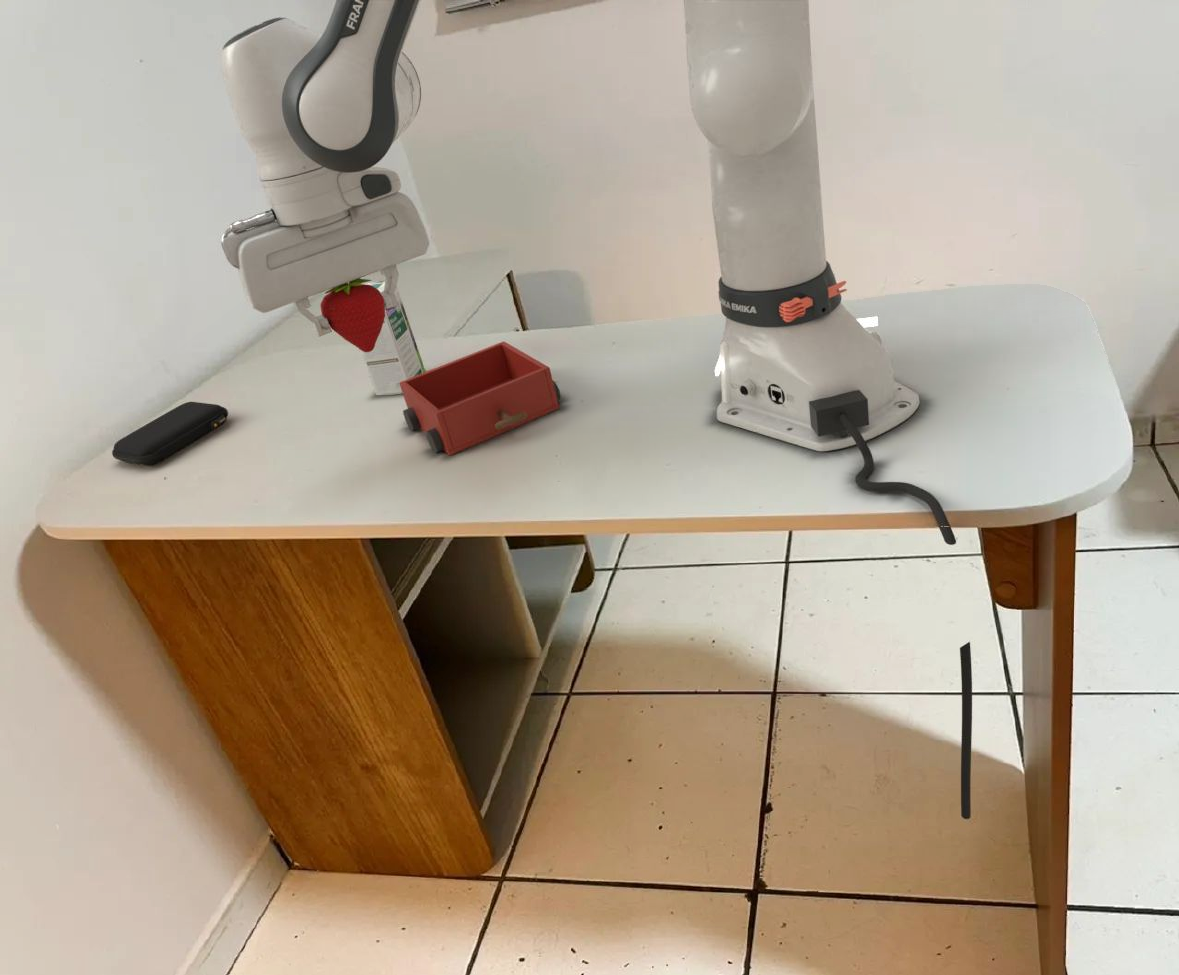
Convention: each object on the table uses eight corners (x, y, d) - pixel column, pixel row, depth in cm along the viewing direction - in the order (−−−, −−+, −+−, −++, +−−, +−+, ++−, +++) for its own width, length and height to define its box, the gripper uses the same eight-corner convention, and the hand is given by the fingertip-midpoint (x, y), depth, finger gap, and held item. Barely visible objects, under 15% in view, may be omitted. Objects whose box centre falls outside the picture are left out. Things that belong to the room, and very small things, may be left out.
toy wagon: (579, 413, 113) (569, 371, 110) (452, 469, 107) (438, 426, 104) (520, 376, 126) (510, 338, 124) (404, 424, 121) (391, 385, 118)
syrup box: (413, 393, 129) (380, 293, 122) (374, 396, 131) (340, 298, 123) (427, 374, 134) (396, 277, 127) (390, 378, 135) (357, 283, 128)
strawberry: (356, 341, 109) (326, 259, 104) (410, 338, 106) (381, 253, 101) (327, 364, 105) (294, 279, 100) (382, 361, 102) (350, 273, 97)
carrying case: (157, 473, 123) (243, 420, 133) (147, 453, 122) (234, 401, 132) (111, 465, 129) (197, 414, 139) (101, 445, 127) (188, 396, 137)
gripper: (219, 232, 91) (274, 362, 98) (411, 168, 98) (450, 293, 104) (209, 224, 96) (262, 348, 103) (392, 164, 103) (430, 284, 109)
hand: (358, 320), depth 104 cm, fingers closed on strawberry, 6 cm apart
